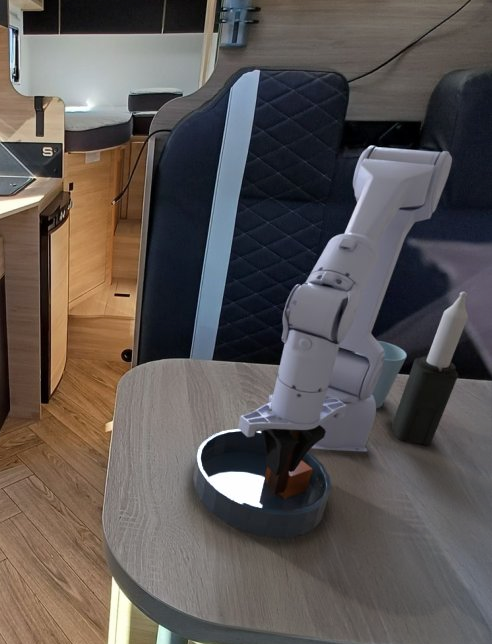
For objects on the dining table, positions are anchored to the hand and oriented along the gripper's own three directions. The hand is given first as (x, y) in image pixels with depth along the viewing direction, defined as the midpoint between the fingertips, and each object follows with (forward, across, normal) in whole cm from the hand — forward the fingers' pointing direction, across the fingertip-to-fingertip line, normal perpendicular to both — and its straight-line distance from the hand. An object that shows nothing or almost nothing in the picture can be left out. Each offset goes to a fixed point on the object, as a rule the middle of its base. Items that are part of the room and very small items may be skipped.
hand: (280, 468), depth 69 cm
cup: (+6, -32, -16) cm, 37 cm away
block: (+5, -3, -1) cm, 6 cm away
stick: (+4, 0, 0) cm, 4 cm away
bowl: (+5, +2, -2) cm, 6 cm away
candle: (+6, -31, -6) cm, 32 cm away
